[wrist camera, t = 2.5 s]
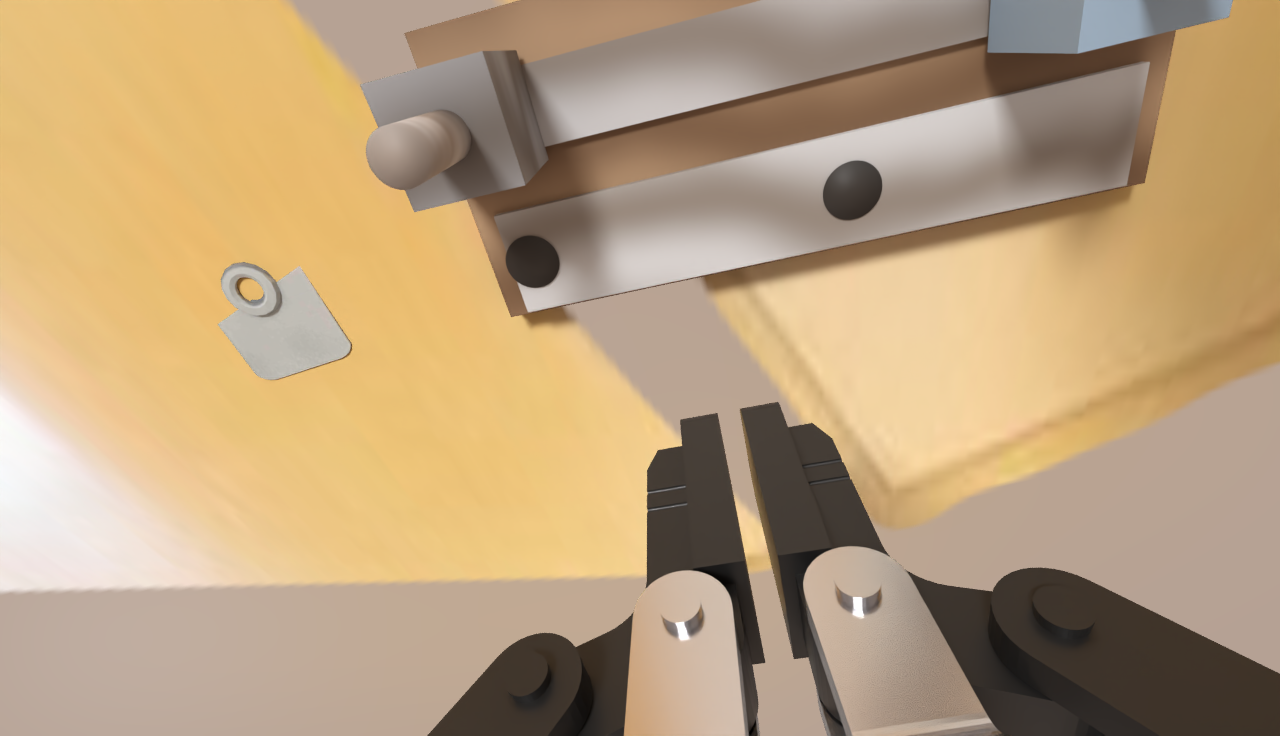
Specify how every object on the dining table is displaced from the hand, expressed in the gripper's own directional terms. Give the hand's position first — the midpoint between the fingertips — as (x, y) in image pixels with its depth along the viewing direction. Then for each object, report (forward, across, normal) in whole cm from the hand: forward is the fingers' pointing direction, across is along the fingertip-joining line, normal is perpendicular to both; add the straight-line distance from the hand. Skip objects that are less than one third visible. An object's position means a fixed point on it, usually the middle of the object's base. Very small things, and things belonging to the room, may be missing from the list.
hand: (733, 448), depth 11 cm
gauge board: (+17, -5, -4) cm, 18 cm away
